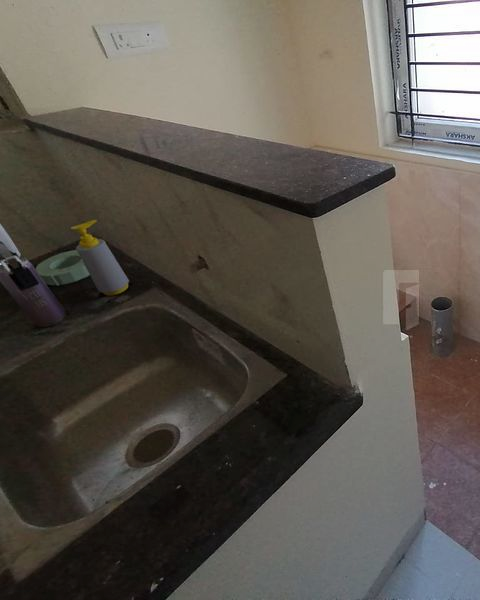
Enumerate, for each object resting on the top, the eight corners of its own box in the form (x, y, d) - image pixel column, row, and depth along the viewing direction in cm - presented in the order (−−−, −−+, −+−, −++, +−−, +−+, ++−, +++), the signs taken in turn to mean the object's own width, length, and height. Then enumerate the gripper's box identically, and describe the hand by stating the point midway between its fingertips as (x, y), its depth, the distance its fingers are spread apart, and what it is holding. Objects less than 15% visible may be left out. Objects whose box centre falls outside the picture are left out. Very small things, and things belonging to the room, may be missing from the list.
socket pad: (52, 291, 98) (45, 281, 97) (34, 274, 105) (27, 265, 103) (108, 268, 107) (103, 258, 105) (88, 254, 113) (83, 245, 111)
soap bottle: (136, 286, 99) (102, 223, 88) (107, 300, 95) (67, 235, 84) (124, 278, 102) (89, 215, 91) (95, 291, 98) (55, 227, 87)
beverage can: (64, 308, 93) (26, 254, 83) (69, 319, 89) (30, 264, 80) (33, 319, 89) (-10, 264, 80) (37, 331, 86) (-7, 275, 77)
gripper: (-72, 200, 74) (-11, 275, 84) (-51, 222, 65) (13, 302, 76) (-22, 188, 79) (30, 260, 89) (3, 207, 70) (57, 284, 80)
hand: (22, 279), depth 82 cm, fingers open, 9 cm apart
